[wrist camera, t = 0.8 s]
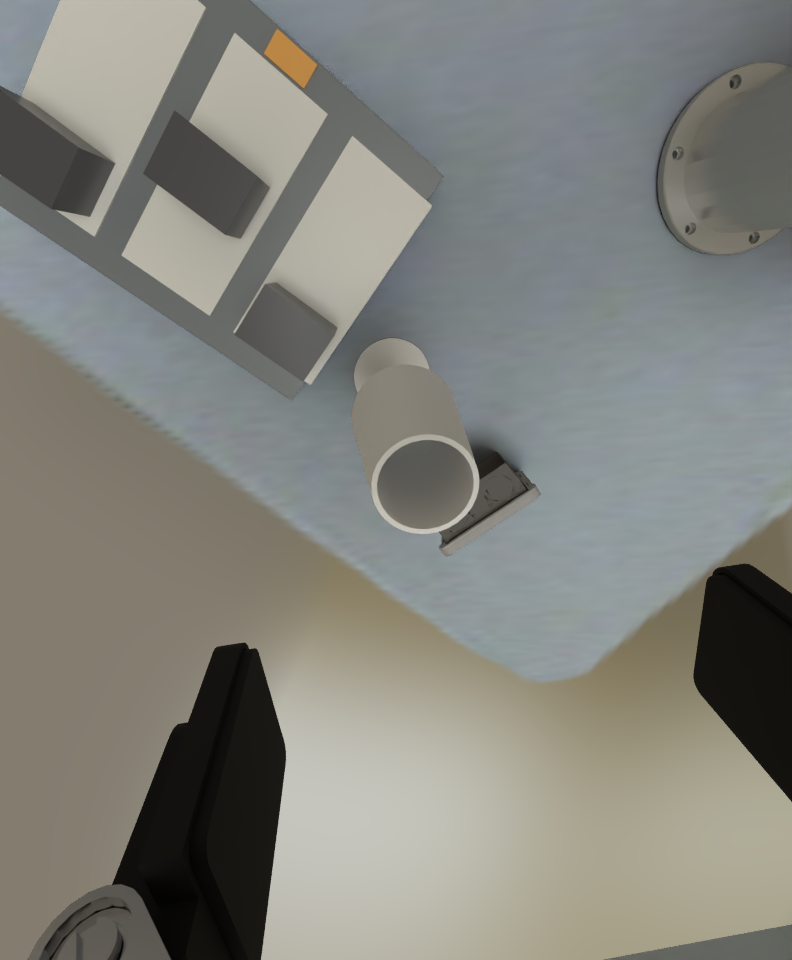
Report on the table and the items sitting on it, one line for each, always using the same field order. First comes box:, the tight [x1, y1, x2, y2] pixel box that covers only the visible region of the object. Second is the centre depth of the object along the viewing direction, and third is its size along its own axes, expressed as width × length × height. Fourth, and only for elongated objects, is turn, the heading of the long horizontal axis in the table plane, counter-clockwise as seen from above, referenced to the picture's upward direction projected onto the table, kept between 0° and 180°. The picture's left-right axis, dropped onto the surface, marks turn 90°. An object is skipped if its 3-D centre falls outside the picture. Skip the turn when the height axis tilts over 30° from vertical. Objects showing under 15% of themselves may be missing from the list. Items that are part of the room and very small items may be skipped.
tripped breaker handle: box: [143, 110, 270, 239], centre depth 32 cm, size 4×6×4 cm
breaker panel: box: [0, 0, 444, 400], centre depth 34 cm, size 20×25×8 cm
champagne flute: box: [352, 338, 479, 534], centre depth 33 cm, size 7×7×24 cm
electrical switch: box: [439, 452, 541, 556], centre depth 44 cm, size 9×5×9 cm, turn 126°
